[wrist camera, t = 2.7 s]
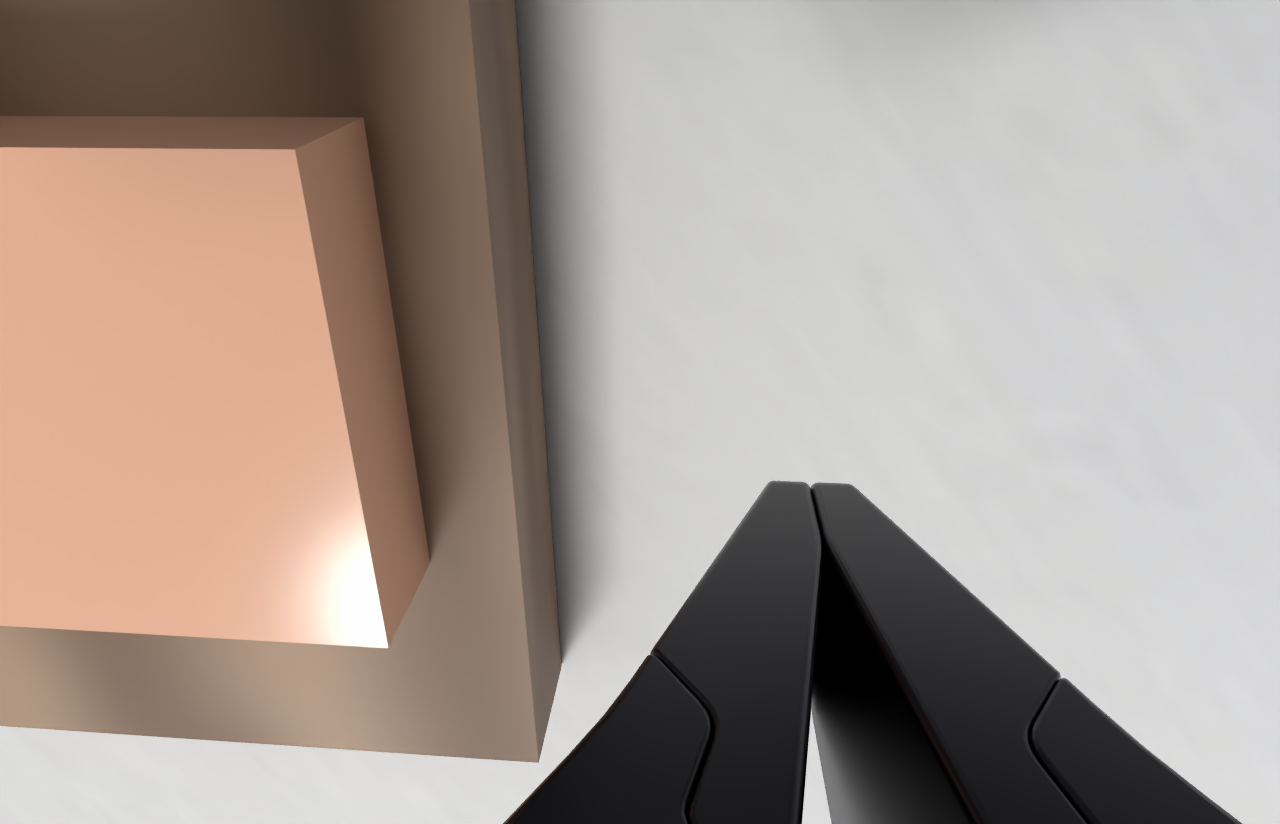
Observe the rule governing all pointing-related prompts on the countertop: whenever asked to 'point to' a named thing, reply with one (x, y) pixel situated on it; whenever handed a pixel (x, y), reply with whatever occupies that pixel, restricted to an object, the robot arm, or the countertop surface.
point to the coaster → (201, 383)
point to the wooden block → (429, 357)
